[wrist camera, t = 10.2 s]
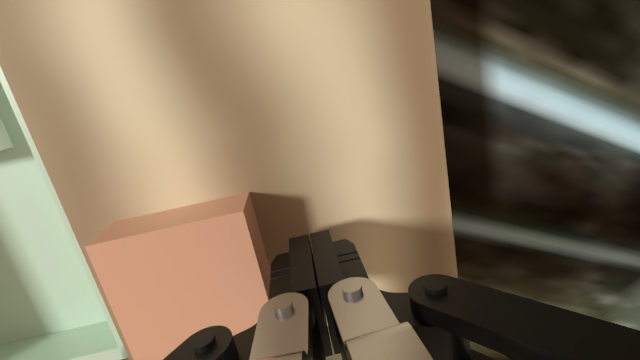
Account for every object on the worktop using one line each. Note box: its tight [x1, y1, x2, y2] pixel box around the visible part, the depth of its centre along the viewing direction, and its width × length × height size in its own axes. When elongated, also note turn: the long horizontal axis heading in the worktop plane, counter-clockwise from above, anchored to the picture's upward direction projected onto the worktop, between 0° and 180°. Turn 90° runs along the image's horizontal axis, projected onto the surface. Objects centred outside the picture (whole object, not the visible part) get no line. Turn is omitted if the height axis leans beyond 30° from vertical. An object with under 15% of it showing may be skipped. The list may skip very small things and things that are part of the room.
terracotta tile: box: [84, 192, 271, 360], centre depth 13 cm, size 5×5×2 cm
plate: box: [0, 0, 458, 360], centre depth 15 cm, size 14×16×4 cm
